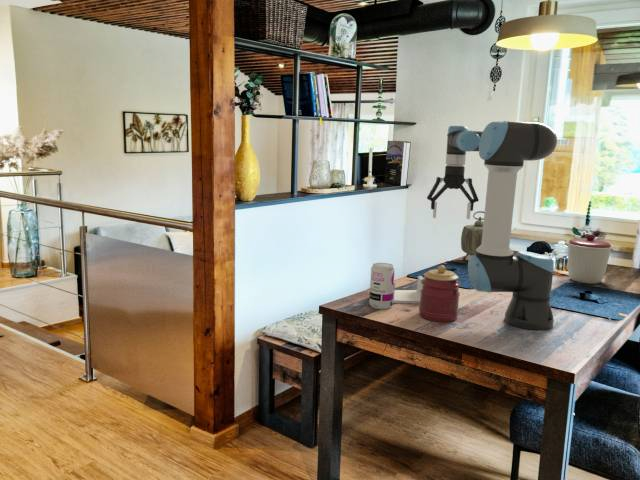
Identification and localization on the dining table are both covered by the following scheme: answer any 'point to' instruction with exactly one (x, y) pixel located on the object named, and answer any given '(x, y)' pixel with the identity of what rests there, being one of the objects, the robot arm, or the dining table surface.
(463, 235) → the tabletop clock
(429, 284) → the canister
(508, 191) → the robot arm
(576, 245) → the canister
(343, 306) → the dining table surface
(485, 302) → the dining table surface
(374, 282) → the supplement can
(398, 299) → the can holder
